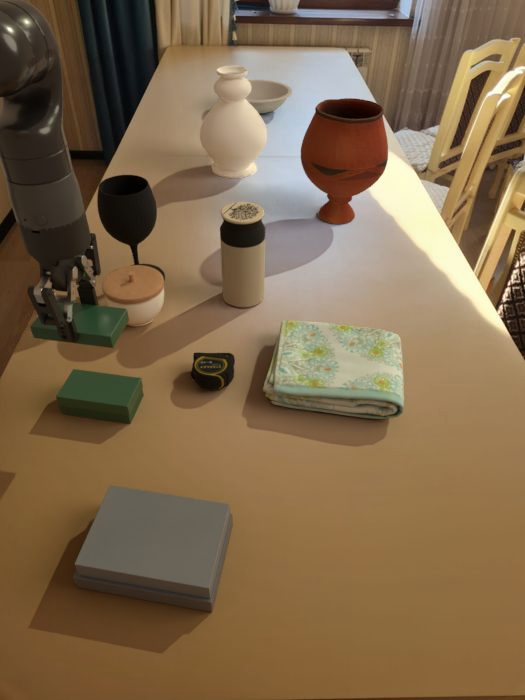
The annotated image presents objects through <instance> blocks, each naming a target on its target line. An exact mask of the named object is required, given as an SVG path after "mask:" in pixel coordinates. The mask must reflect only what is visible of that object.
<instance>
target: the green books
mask: <svg viewBox="0 0 525 700" xmlns="http://www.w3.org/2000/svg"><path fill="white" fill-rule="evenodd" d="M143 384H144V383H143V379H142V377H138V376H137V377H136V376H130V375H122V374H114V373H106V372H99V371H93V370H92V371H91V370H85V369H76V368H73V369H72V370H71V371H70V373H69V375H68V377H67V379H66V380H65V382H64V383H63V385H62V386H61V388H60V390H59V391H58V393H57V394H56V396H55V398H56V400H57V404H58V409H59V411H60V414H61V415H67V416H71V417H72V416H73V417H81V418H88V419H94V420H101V421H107V422H108V421H109V422H115V423H121V424H129V425H131V424H132V422H133V419H134V418H135V415H136V414H137V411H138V409H139V407H140V404H141V403H142V400H143V398H144V395H145V394H144V385H143Z"/></svg>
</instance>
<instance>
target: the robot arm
mask: <svg viewBox="0 0 525 700" xmlns="http://www.w3.org/2000/svg"><path fill="white" fill-rule="evenodd" d="M63 83H64V80H63V66H62V57H61V52H60V47H59V44H58V41H57V38H56V35H55V33H54V30H53V29H52V26H51V25H50V23H49V21H48V19H47V18H46V17H45V16H44V14H43V13H42V12H41V11H40V10H39V8H37V7H36V6H35V5H34V4H32V3H30V2H29V1H27V0H0V98H1V102H2V103H1V108H0V165H1V169H2V172H3V176H4V179H5V183H6V188H7V195H8V199H9V203H10V205H11V208H12V211H13V215H14V218H15V221H16V224H17V228H18V230H19V234H20V236H21V239H22V243H23V246H24V250H25V251H26V253H27V254H28V255H29V256H30V257H32V258H33V259H34V260H35V262H37V263H38V265H39V278H40V281H39V282H38V283H37V285H29V286H28V287H27V290H26V291H27V295H28V298H29V300H30V302H31V305H32V306H33V308H34V311H35V313H36V315H37V317H39V319H40V321H41V323H42V325H51V326H56V327H57V331H58V334H59V337H60V339H61V340H62V341H64V342H63V343H69V342H71V343H70V344H76V342H77V341H78V339H79V336H78V332H77V328H76V325H75V321H74V318H73V317H72V303H73V302H74V303H76V301H77V295H78V298H79V303H82V304H91V305H99V300H98V296H97V292H96V286H97V278H96V277H97V276H100V275H101V273H102V269H101V261H100V256H99V255H100V254H99V249H98V242H97V235H96V233H93V232H91V230H90V226H89V223H88V217H87V213H86V209H85V208H86V207H85V204H84V200H83V195H82V191H81V188H80V184H79V181H78V179H77V175H76V173H75V170H74V167H73V163H72V162H73V161H72V157H71V153H70V149H69V145H68V141H67V137H66V134H65V133H66V132H65V129H64V84H63ZM89 261H91V263H92V265H90V263H89ZM55 291H56V292H55ZM57 292H64V293H66V294H65V295H64V294H57ZM58 303H63V304H64V311H61V309H60V307H59V304H58ZM99 306H100V305H99ZM48 314H49V315H48Z"/></svg>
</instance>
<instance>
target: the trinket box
mask: <svg viewBox="0 0 525 700" xmlns="http://www.w3.org/2000/svg"><path fill="white" fill-rule="evenodd" d="M130 265H131V266H130ZM130 265H126V266H121V267H118V268H116V269H114V270H112V271H110V272H109V273H107V275H106V276H104V278H103V280H102V282H101V291H102V293H103V296H104V300H105V303H106V305H107V306H108V307H116V308H124V309H127V312H128V317H129V321H128V323H127V325H126V326H130V327H143V326H147V325H148V324H151V323H152V322H153V321H154V320H155V319H156V317H158V315H159V314H160V313H161V311H162V309H163V307H164V303H165V280H164V278H163V276H162V274H161V273H160V272H159V271H158V270H156V269H154V268H152V267H149V266H144V265H134V264H130Z"/></svg>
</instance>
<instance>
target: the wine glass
mask: <svg viewBox="0 0 525 700" xmlns="http://www.w3.org/2000/svg"><path fill="white" fill-rule="evenodd" d="M96 199H97V200H96V201H97V202H96V203H97V205H96V206H97V213H98V217H99V220H100V222H101V225H102V226H103V228H104V230H105V231H106V232H107V234H108V235H109V236H111V237H112V238H113V239H114V240H116V241H118V242H119V243H122V244H124V245H127V246H129V248H130V250H131V254H132V259H133V265H144V266H149V267H152V268H154V269H156V270H158V271H159V272H160V273H161V274H162V276H163V278H164V281H166V280H165V279H166V275H165V272H164V270H163V269H162V268H160V267H159V266H157V265H155V264H150V263H140V260H139V251H138V246H139V244H141V243H142V242H143V241H145V240H146V239H147V238H148V237H149V236H150V234H152V232H153V230H154V228H155V226H156V223H157V218H158V217H157V216H158V208H157V201H156V198H155V196H154V193H153V190H152V187H151V185H150V183H149V181H148V179H146V178H145V177H142V176H140V175H136V174H119V175H113V176H110V177H108V178H105V179H103V180H102V181H101V182H100V183H99V184H98V187H97V197H96ZM131 265H132V264H130V265H129V266H131Z"/></svg>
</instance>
